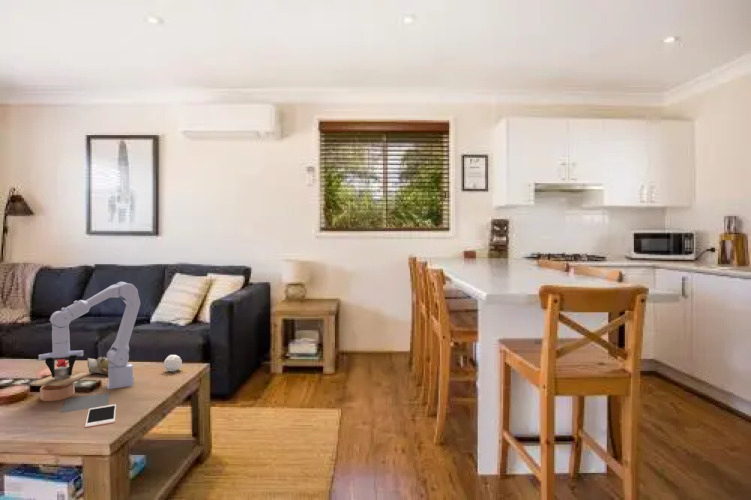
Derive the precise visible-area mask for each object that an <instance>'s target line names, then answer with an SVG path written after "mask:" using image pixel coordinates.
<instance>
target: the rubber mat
mask: <svg viewBox="0 0 751 500" xmlns="http://www.w3.org/2000/svg"><path fill="white" fill-rule="evenodd" d="M110 396H111V392H107V393H101V394H91V395H84V396H75V397H68V398H65V401H64V403H63V405H62V408H61V410H60V414H61V413H67V412H74V411H75V412H76V411H81V410H89V408H95V407H101V406H106V405H109V402H110V398H111V397H110Z"/></svg>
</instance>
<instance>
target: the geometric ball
mask: <svg viewBox="0 0 751 500" xmlns="http://www.w3.org/2000/svg"><path fill="white" fill-rule="evenodd" d="M182 363H183V361H182V359H181V356H179V355H177V354H169V355H168V356H167V357H166V358H165V360H164V361H163V367H164V368H165V370H167V372H177V371H178V370H179V369H180V368H181V366H182V365H183V364H182Z"/></svg>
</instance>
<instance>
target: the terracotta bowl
mask: <svg viewBox="0 0 751 500" xmlns="http://www.w3.org/2000/svg"><path fill="white" fill-rule="evenodd" d="M75 389H76V387H75V382H74V383H72V384H70V385H68V386H50V385H41V387H40V388H39V399H40V400H41V401H43V402H53V401H54V402H55V401H60V400H66V399H69V398H71V397H72V396H74V394H75V393H76V391H75Z"/></svg>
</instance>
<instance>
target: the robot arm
mask: <svg viewBox="0 0 751 500" xmlns="http://www.w3.org/2000/svg"><path fill="white" fill-rule="evenodd" d="M139 295H140V294H139V290H138V288H137V287H136V286H135V285H134V284H133V283H128V282H125V281H118V282H117V283H114V284H111V285H109V286H108V287H106V288H105V289H103V290H101V291H99V292H98V293H96V294H95V295H92V296H91V297H89V298H87V299H86V300H83V299H79V300H74V301H73V303H72V304H70V305H68V306H66V307H61V309H60V310H56V311H54V312H52V314H51V315H50V318H49V321H50V323H51V324H52V325H51V329H52V330H51V342H52V343H51V344H52V345H51V346H52V348H51V349H52V352H48V353H47V352H46V353H42V354H38V361H44V360H45V362H44V363H45V365H46V366H47V368H48V369H49V370H50V371H49V372H50V374H51V375H52V378H54V369H56V367H55V366H56V365H55V364H56V363H55V361H56V360H55V359H62V358H63V359H65V358H68V361H69V363H68V367H69V376H71V375H72V373H73V368H74V366H75V365H74V364H75V362H76V360H77V358H78V357H83V356H84V350H83V349H82V350H81V349H80V350H71V344H70V343H71V342H70V339H71V338H70V326H69V325H70V324H71V322H72V321H74V320H76V319H79V318H80V317H81V316H83V315H86V314H87V313H89V312H90V309H91V308H92V307H93V306H96V305H98V304H100V303H101V302H104V301H106V300H107V299H110V298H118V299H119V298H120V299H121V300H122V302H123V303H124V304H125V308H124V312H123V315H122V318H121V321H120V324H119V328H118V330H117V334H116V337H115V340H114V342H113V343H112V344H111V347H110V348H109V350H108V351H107V352H106V356H105V358H107V360H108V361H110V362H109V364H108V375H107V376H108V377H107V378H108V383H107V390H110V389H117V388H118V389H119V388H124V387H126V388H128V387H132V386H134V381H135V377H134V368H133V365H134V364H133V363H129V359H130V355H129V352H130V346H129V343H130V339H131V336H132V333H133V331H134V326H135V324H136V320H137V316H138V313H139V311H140V307H141V299H140V296H139Z"/></svg>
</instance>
